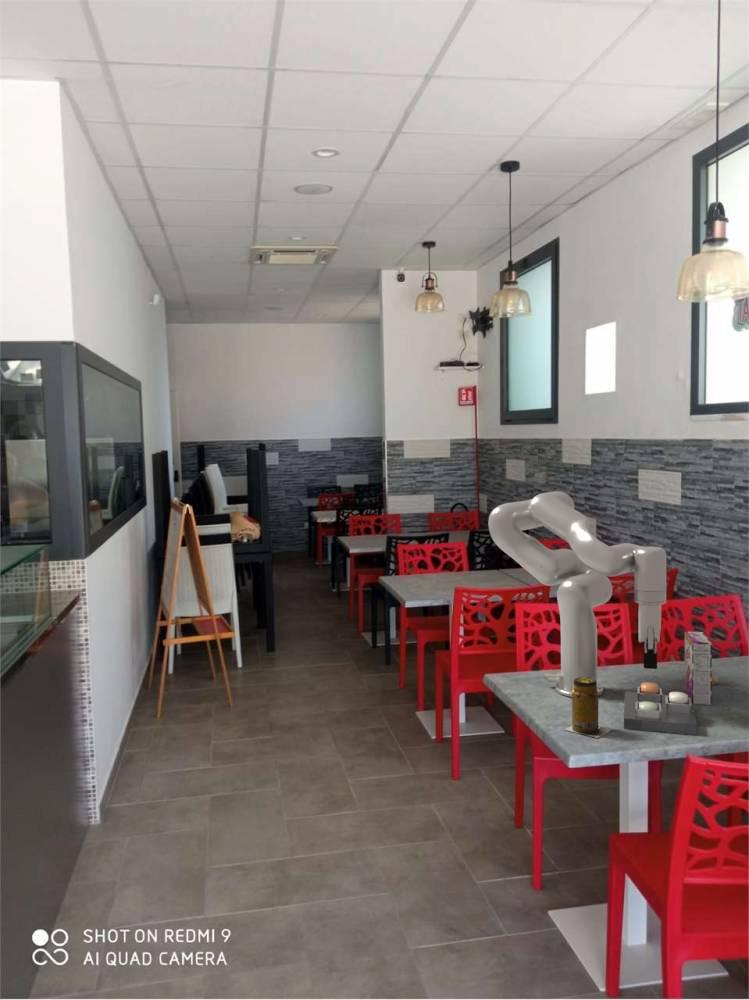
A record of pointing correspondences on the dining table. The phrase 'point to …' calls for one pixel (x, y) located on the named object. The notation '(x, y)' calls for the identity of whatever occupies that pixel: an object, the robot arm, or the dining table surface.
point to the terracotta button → (649, 688)
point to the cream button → (678, 698)
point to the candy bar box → (698, 668)
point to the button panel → (658, 714)
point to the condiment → (585, 708)
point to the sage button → (648, 706)
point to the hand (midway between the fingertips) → (650, 667)
